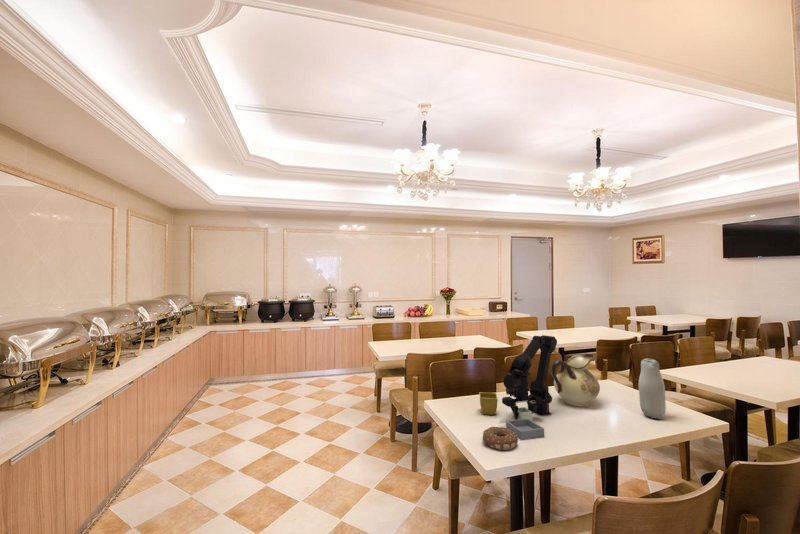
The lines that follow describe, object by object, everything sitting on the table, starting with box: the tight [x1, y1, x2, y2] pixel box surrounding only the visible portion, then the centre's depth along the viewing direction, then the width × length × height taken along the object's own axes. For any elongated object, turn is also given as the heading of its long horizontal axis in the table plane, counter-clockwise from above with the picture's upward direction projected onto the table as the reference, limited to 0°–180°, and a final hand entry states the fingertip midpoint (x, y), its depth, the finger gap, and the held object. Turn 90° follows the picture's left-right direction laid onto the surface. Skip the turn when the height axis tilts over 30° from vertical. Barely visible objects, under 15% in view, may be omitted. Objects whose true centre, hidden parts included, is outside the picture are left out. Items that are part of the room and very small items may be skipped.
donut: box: [482, 426, 519, 451], centre depth 140 cm, size 14×14×5 cm
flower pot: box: [478, 391, 499, 416], centre depth 173 cm, size 9×9×9 cm
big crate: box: [505, 419, 545, 441], centre depth 150 cm, size 11×11×4 cm
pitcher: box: [550, 353, 601, 408], centre depth 186 cm, size 22×24×25 cm
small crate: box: [513, 407, 533, 421], centre depth 163 cm, size 6×6×5 cm
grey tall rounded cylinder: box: [637, 357, 667, 419], centre depth 166 cm, size 10×10×28 cm
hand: (522, 418), depth 163 cm, fingers open, 7 cm apart
